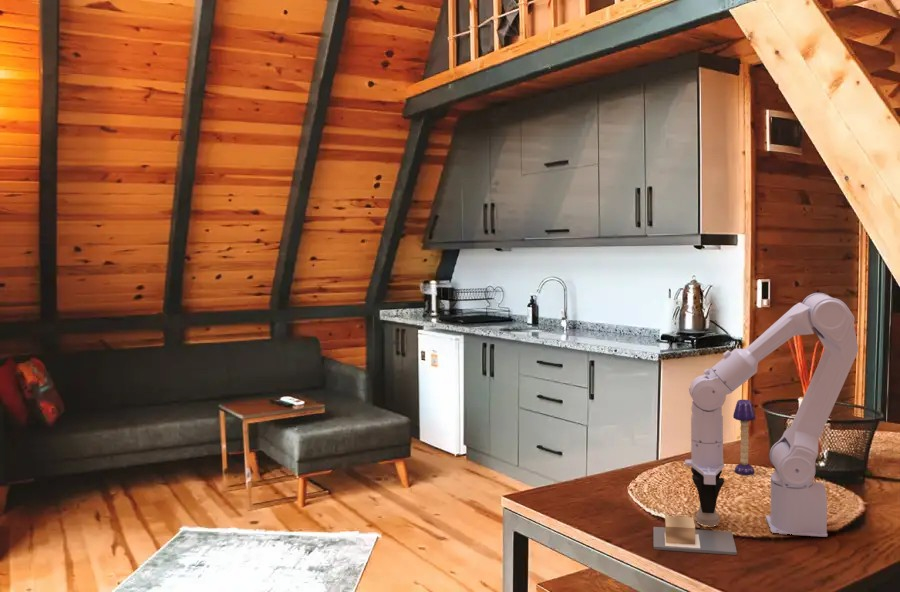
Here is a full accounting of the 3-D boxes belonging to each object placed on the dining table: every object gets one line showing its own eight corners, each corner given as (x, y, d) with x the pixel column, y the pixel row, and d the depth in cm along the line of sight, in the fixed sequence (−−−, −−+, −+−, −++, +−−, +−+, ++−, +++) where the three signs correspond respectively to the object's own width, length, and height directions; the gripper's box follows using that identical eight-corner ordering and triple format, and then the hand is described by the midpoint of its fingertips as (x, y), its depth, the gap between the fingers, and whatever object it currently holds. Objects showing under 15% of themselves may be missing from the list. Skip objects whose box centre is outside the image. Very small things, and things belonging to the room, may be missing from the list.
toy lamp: (758, 475, 174) (758, 402, 173) (737, 476, 174) (737, 403, 173) (750, 468, 179) (750, 397, 177) (730, 469, 179) (730, 398, 177)
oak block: (693, 533, 143) (693, 517, 143) (695, 544, 138) (695, 528, 138) (665, 531, 144) (665, 515, 144) (666, 542, 140) (666, 526, 139)
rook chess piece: (721, 528, 146) (721, 487, 145) (696, 527, 147) (696, 486, 146) (717, 519, 151) (717, 479, 150) (693, 518, 151) (693, 478, 151)
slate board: (731, 534, 144) (731, 531, 143) (736, 555, 135) (736, 551, 135) (653, 529, 147) (653, 526, 147) (653, 549, 138) (653, 546, 138)
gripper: (683, 428, 155) (683, 494, 157) (686, 449, 141) (687, 522, 143) (720, 429, 153) (720, 496, 155) (727, 451, 139) (727, 524, 141)
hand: (707, 508), depth 149 cm, fingers closed on rook chess piece, 3 cm apart
